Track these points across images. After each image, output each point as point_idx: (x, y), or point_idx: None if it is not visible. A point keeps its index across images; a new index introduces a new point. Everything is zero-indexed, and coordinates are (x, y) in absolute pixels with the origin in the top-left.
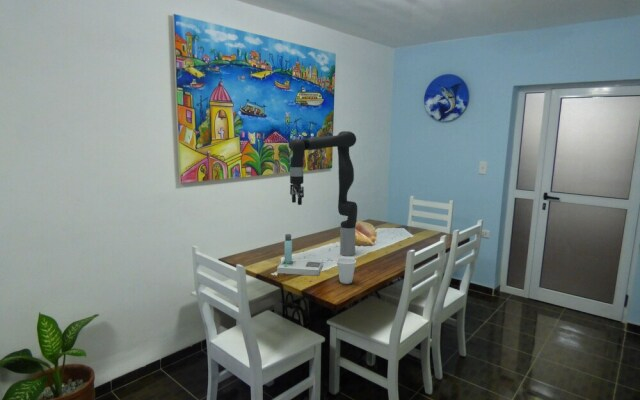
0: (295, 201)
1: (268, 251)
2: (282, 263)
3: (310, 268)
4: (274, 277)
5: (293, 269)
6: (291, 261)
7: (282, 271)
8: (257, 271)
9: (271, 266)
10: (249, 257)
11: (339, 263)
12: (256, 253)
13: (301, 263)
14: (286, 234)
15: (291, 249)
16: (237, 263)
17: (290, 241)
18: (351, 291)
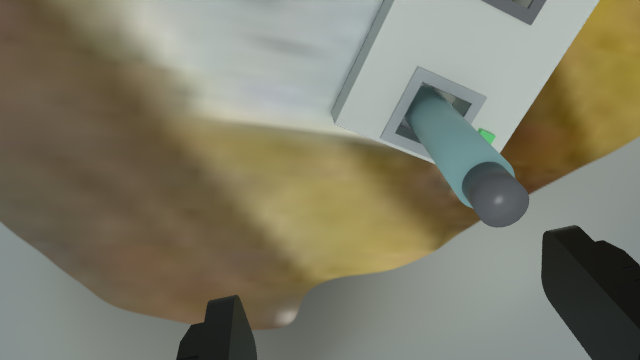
0: (236, 312)
1: (66, 177)
2: None
3: (576, 1)
4: None
5: (530, 101)
6: (449, 103)
7: None
8: (414, 248)
9: (361, 185)
10: (184, 275)
11: None
12: (109, 242)
13: (465, 38)
14: (489, 217)
15: (479, 133)
16: (275, 321)
17: (511, 167)
18: None
